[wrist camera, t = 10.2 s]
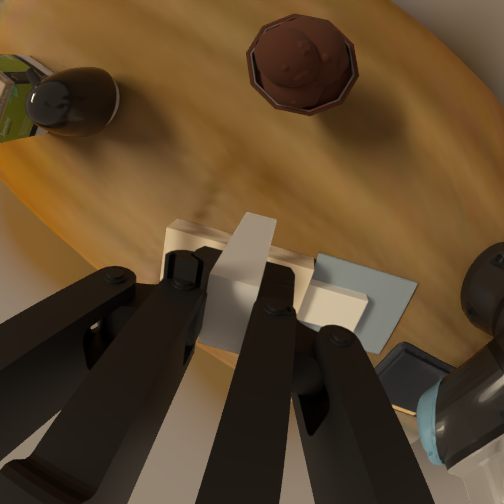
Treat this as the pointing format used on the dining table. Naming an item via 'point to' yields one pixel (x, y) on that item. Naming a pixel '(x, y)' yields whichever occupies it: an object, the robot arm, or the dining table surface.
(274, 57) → the ice cream bowl
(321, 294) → the cream rectangular block
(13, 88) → the tea box
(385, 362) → the dark grey flat slab
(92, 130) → the pump dispenser
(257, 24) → the dining table surface
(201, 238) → the riser
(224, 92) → the dining table surface
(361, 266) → the mat
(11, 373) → the robot arm
